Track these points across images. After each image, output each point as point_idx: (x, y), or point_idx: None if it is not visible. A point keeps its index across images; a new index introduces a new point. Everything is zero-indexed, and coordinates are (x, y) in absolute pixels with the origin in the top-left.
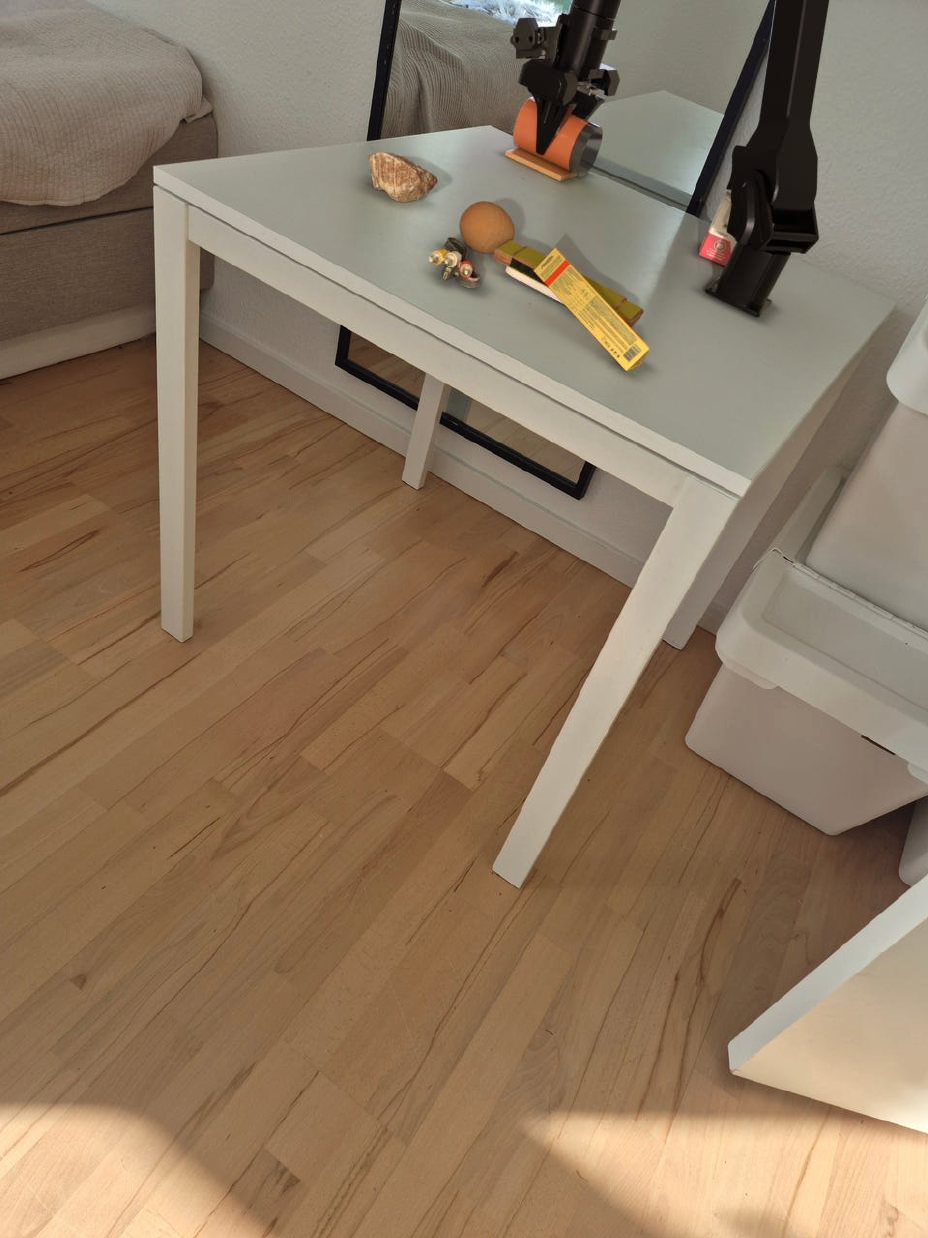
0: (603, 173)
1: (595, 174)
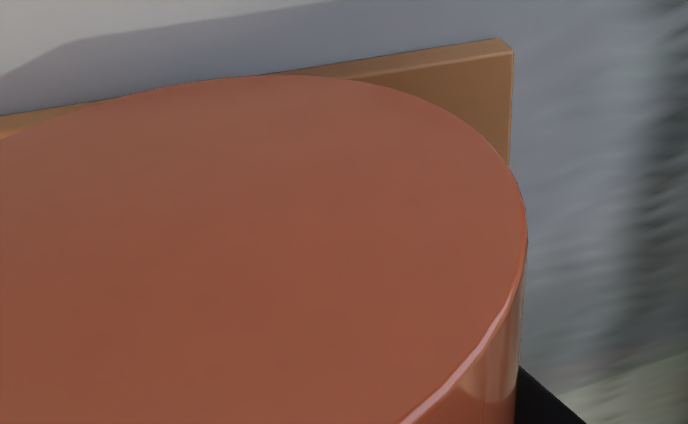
0: (676, 405)
1: (581, 415)
